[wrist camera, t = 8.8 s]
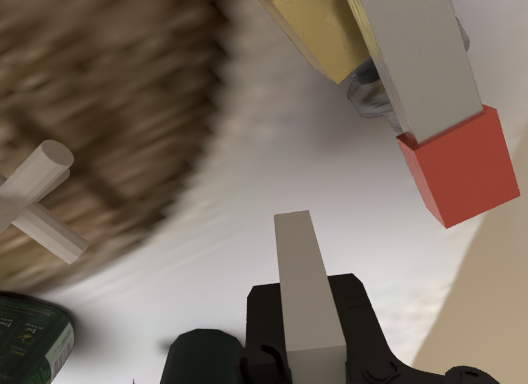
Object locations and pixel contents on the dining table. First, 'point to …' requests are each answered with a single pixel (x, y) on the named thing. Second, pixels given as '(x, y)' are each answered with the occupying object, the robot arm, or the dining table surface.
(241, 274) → the dining table surface
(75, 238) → the pipe connector
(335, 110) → the dining table surface
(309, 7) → the pipe
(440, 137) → the lever
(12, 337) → the coffee jar
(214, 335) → the wine bottle
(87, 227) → the dining table surface
